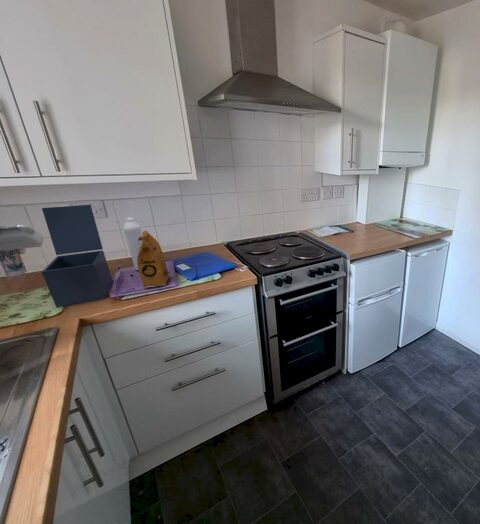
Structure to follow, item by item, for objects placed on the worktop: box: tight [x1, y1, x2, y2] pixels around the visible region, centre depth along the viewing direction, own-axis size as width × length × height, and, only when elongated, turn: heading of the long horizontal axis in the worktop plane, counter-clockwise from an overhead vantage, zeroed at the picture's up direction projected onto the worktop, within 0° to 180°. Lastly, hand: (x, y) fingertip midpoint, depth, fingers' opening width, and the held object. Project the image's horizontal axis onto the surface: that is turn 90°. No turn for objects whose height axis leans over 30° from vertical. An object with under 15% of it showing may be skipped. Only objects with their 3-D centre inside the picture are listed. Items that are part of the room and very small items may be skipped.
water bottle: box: [123, 216, 143, 270], centre depth 138 cm, size 9×6×25 cm
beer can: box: [0, 249, 28, 278], centre depth 88 cm, size 5×5×12 cm
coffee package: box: [137, 229, 170, 288], centre depth 125 cm, size 10×12×22 cm
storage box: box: [41, 249, 114, 308], centre depth 117 cm, size 18×15×14 cm
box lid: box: [41, 204, 104, 256], centre depth 121 cm, size 18×15×4 cm
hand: (8, 253), depth 88 cm, fingers closed on beer can, 5 cm apart
